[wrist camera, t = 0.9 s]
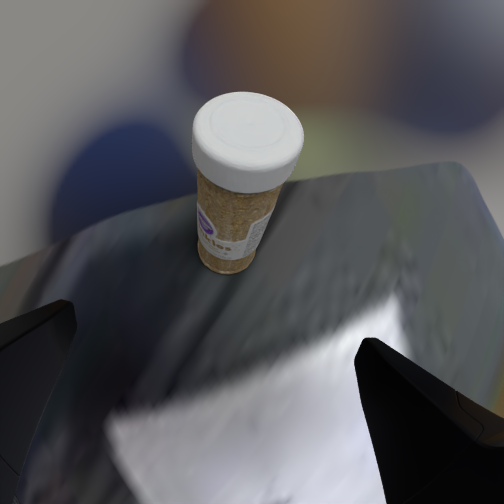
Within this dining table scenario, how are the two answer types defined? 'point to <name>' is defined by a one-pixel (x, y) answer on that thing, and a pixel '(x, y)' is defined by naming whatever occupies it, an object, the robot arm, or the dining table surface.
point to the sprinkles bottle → (240, 173)
